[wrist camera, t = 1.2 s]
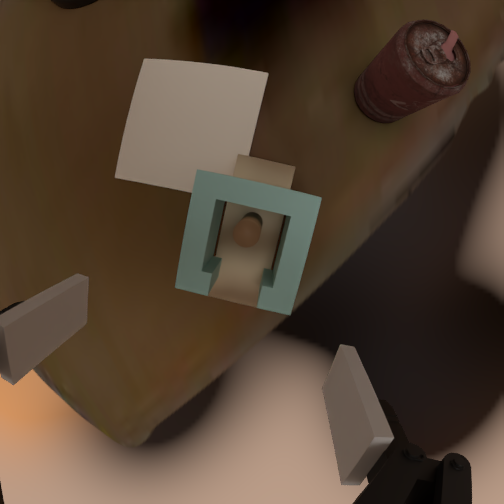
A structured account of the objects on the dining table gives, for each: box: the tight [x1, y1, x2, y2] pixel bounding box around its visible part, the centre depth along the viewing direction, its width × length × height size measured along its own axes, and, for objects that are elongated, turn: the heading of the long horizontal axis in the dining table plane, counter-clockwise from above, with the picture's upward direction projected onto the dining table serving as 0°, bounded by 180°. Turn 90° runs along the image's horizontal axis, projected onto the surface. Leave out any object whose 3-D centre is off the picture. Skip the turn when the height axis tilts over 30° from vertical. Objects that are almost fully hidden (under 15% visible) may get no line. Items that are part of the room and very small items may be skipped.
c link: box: [175, 169, 322, 315], centre depth 25 cm, size 9×9×5 cm
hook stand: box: [208, 154, 295, 308], centre depth 27 cm, size 13×5×12 cm, turn 167°
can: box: [354, 20, 470, 123], centre depth 22 cm, size 6×6×14 cm
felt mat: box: [115, 59, 269, 193], centre depth 31 cm, size 14×14×1 cm
